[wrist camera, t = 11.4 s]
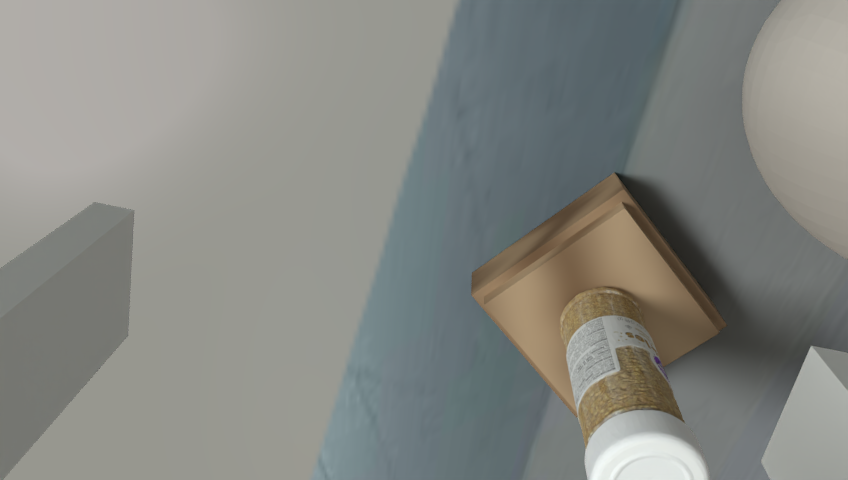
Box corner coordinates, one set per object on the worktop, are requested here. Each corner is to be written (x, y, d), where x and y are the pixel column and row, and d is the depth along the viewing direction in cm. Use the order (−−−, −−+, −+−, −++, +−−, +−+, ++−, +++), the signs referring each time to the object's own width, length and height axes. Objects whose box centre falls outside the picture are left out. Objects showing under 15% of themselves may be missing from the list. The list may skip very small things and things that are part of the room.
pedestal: (614, 172, 43) (627, 194, 39) (711, 301, 45) (732, 334, 42) (471, 273, 46) (471, 303, 42) (571, 389, 48) (578, 427, 45)
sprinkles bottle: (660, 323, 42) (737, 491, 29) (594, 373, 43) (642, 553, 31) (604, 267, 41) (661, 416, 28) (539, 319, 42) (565, 484, 30)
